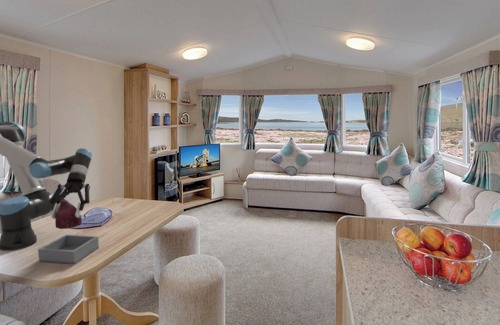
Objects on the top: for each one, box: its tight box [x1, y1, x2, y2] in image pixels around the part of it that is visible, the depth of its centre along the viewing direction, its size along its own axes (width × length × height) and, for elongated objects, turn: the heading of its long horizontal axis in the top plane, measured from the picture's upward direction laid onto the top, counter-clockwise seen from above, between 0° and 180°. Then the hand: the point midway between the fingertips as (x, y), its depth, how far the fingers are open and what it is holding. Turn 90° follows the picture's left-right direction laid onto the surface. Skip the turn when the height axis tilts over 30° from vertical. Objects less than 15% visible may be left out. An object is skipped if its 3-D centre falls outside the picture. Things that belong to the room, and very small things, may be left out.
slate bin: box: [37, 234, 100, 266], centre depth 136 cm, size 17×17×6 cm
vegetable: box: [54, 198, 83, 230], centre depth 132 cm, size 10×10×15 cm
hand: (65, 217), depth 130 cm, fingers closed on vegetable, 9 cm apart
